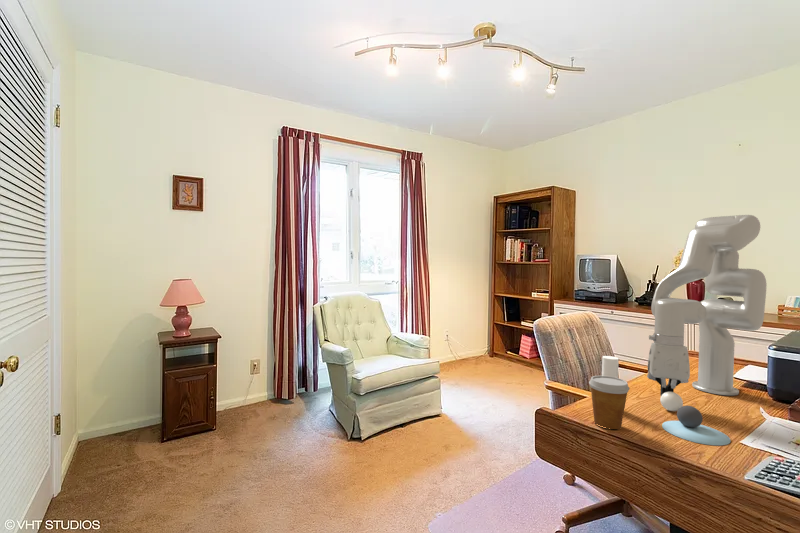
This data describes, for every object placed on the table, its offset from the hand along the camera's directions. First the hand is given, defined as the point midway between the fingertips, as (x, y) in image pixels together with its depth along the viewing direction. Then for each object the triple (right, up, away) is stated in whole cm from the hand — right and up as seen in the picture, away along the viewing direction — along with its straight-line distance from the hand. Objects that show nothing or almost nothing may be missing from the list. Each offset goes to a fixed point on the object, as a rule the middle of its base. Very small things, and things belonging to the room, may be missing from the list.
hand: (666, 399), depth 120 cm
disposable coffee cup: (-27, -1, -17) cm, 32 cm away
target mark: (-6, -2, -20) cm, 21 cm away
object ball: (-5, +1, -16) cm, 17 cm away
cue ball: (-2, +1, -5) cm, 6 cm away
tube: (-20, -1, -4) cm, 20 cm away
